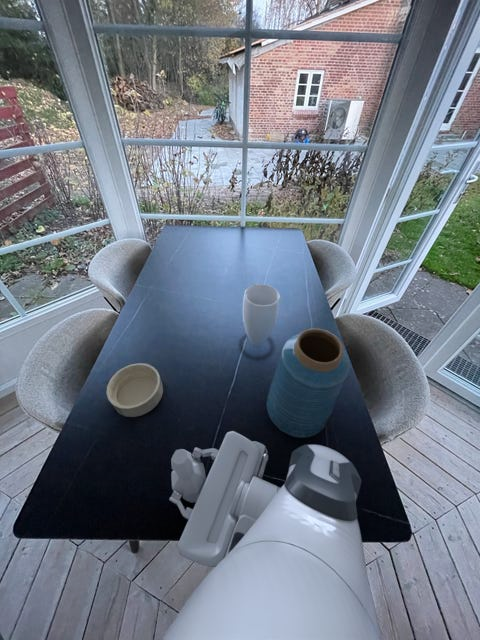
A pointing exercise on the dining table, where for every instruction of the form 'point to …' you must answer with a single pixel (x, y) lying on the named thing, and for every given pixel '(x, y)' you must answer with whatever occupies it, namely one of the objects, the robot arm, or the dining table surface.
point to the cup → (260, 312)
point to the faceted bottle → (187, 475)
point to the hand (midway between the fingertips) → (183, 472)
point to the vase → (307, 382)
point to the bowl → (135, 390)
